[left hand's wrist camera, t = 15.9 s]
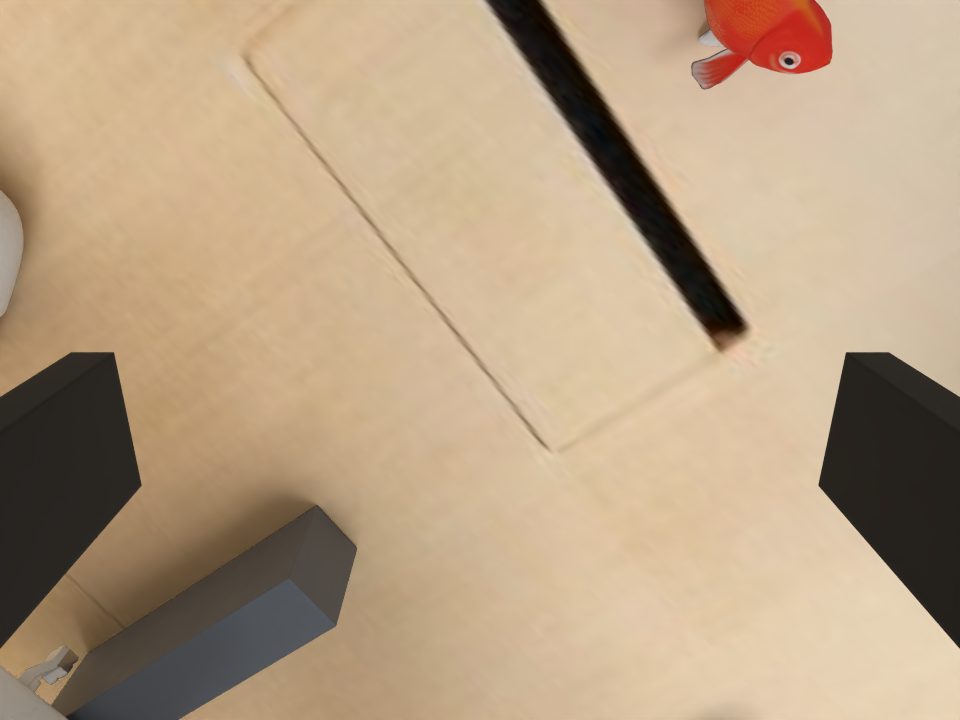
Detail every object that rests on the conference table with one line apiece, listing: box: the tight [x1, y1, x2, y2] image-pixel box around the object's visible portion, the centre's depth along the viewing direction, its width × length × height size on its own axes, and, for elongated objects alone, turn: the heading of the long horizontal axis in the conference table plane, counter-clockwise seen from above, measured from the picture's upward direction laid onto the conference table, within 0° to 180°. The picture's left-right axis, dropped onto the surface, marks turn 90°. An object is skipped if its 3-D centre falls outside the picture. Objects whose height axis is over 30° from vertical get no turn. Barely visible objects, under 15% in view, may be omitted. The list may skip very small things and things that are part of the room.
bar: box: [51, 506, 357, 720], centre depth 49 cm, size 24×5×8 cm, turn 125°
